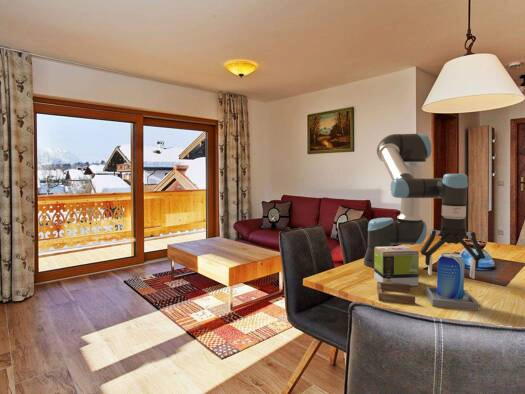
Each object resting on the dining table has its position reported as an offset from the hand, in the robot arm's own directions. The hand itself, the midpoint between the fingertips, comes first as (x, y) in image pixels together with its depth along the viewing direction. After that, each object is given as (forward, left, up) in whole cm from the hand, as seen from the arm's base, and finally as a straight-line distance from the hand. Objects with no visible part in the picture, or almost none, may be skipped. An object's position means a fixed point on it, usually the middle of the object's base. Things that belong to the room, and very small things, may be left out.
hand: (450, 275), depth 120 cm
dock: (0, -18, -9) cm, 20 cm away
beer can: (0, 0, -8) cm, 9 cm away
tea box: (-16, -17, -9) cm, 25 cm away
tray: (0, 0, -9) cm, 9 cm away
